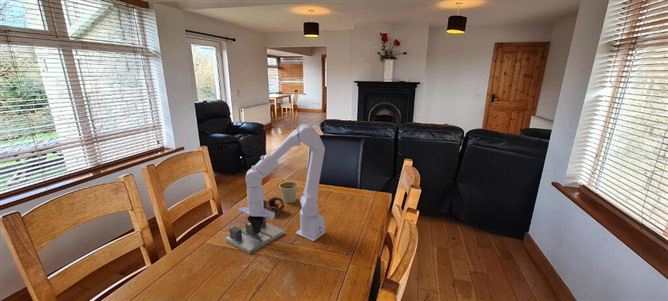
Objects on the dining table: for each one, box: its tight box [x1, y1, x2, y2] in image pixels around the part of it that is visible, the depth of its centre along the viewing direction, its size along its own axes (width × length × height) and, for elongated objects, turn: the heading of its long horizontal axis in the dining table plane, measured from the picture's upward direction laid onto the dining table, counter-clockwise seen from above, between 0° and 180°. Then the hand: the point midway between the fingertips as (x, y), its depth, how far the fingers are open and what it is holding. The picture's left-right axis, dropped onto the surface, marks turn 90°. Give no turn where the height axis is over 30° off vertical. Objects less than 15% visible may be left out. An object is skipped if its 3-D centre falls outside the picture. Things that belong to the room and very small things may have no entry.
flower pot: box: [278, 181, 299, 204], centre depth 144 cm, size 9×9×9 cm
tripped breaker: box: [244, 221, 255, 235], centre depth 113 cm, size 4×2×4 cm, turn 54°
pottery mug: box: [263, 196, 285, 216], centre depth 132 cm, size 12×10×8 cm
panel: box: [225, 217, 285, 255], centre depth 112 cm, size 14×17×5 cm
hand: (257, 232), depth 111 cm, fingers closed
